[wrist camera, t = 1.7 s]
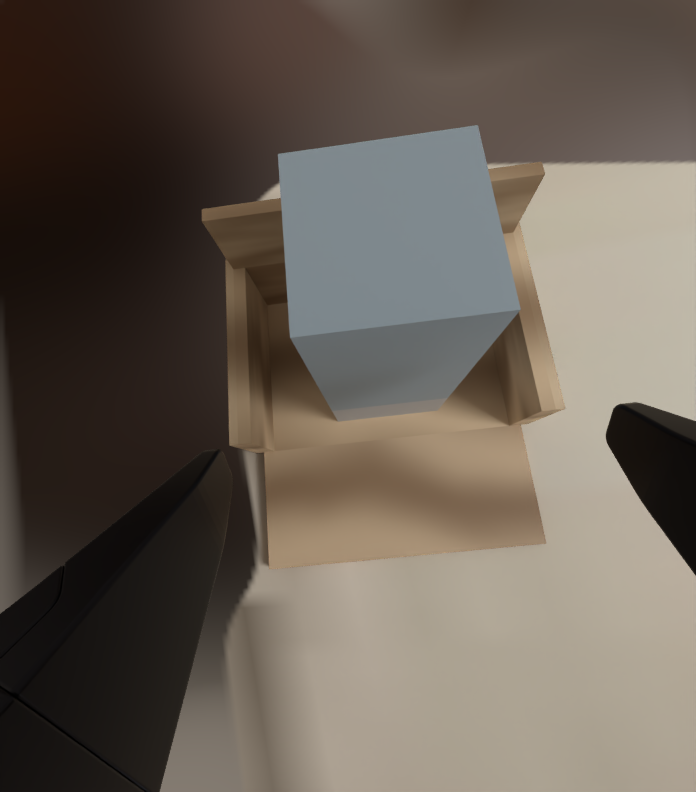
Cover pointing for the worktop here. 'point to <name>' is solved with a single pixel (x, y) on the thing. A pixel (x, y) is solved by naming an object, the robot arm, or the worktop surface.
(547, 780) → the worktop surface
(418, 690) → the worktop surface
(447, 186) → the slate block
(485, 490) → the kraft carton
